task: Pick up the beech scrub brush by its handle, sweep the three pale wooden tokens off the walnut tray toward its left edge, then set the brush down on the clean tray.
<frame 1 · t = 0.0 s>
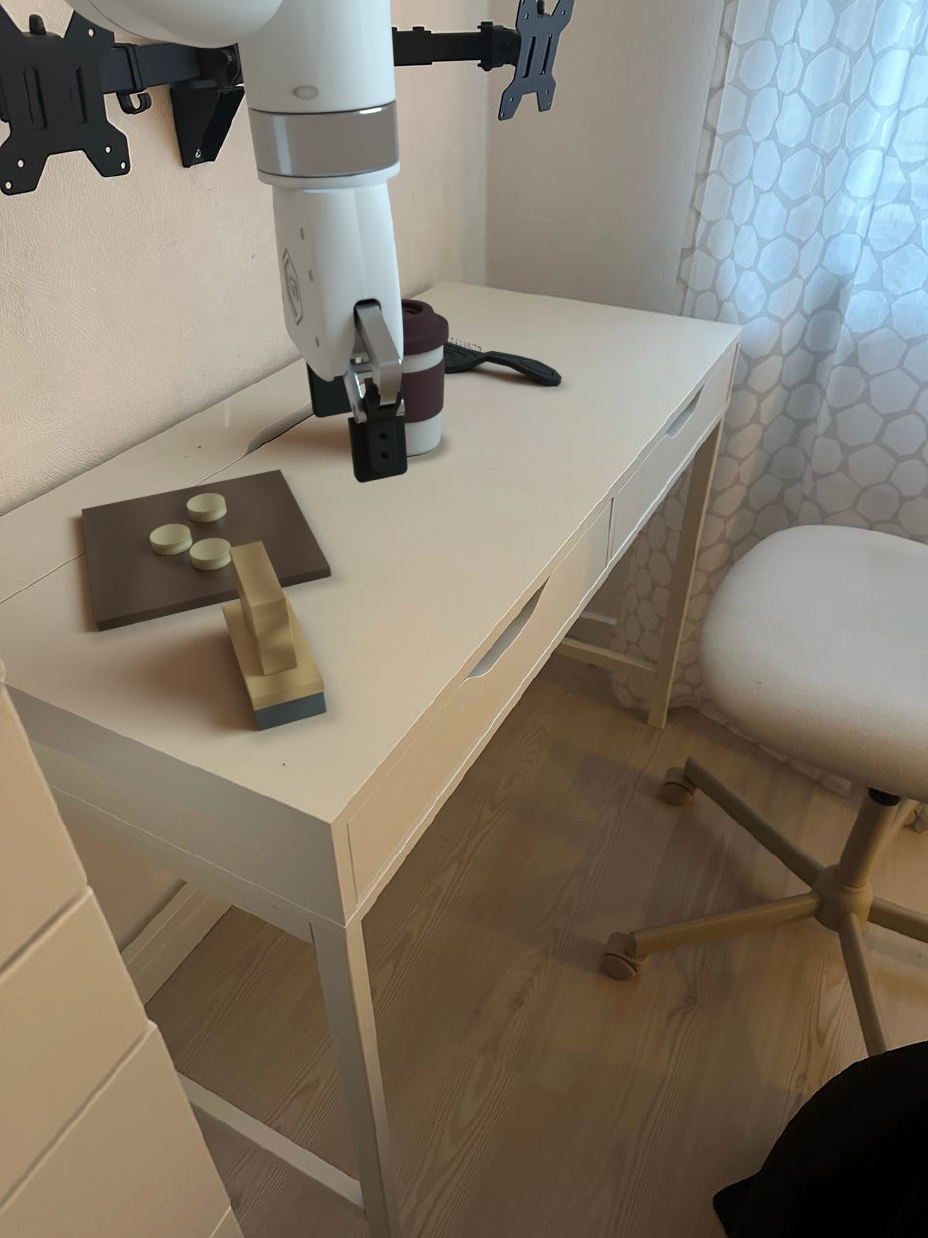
hand: (357, 442, 57), 20 cm above the table, tool pointing down, fingers open, 9 cm apart
token a: (212, 559, 81), point 1 cm above the table, touching tray
coffee cup: (408, 444, 101), on the table
hairbrush: (473, 368, 117), on the table
brush: (275, 672, 70), on the table
token c: (208, 512, 87), point 1 cm above the table, touching tray
tray: (201, 545, 85), on the table
token b: (172, 544, 83), point 1 cm above the table, touching tray
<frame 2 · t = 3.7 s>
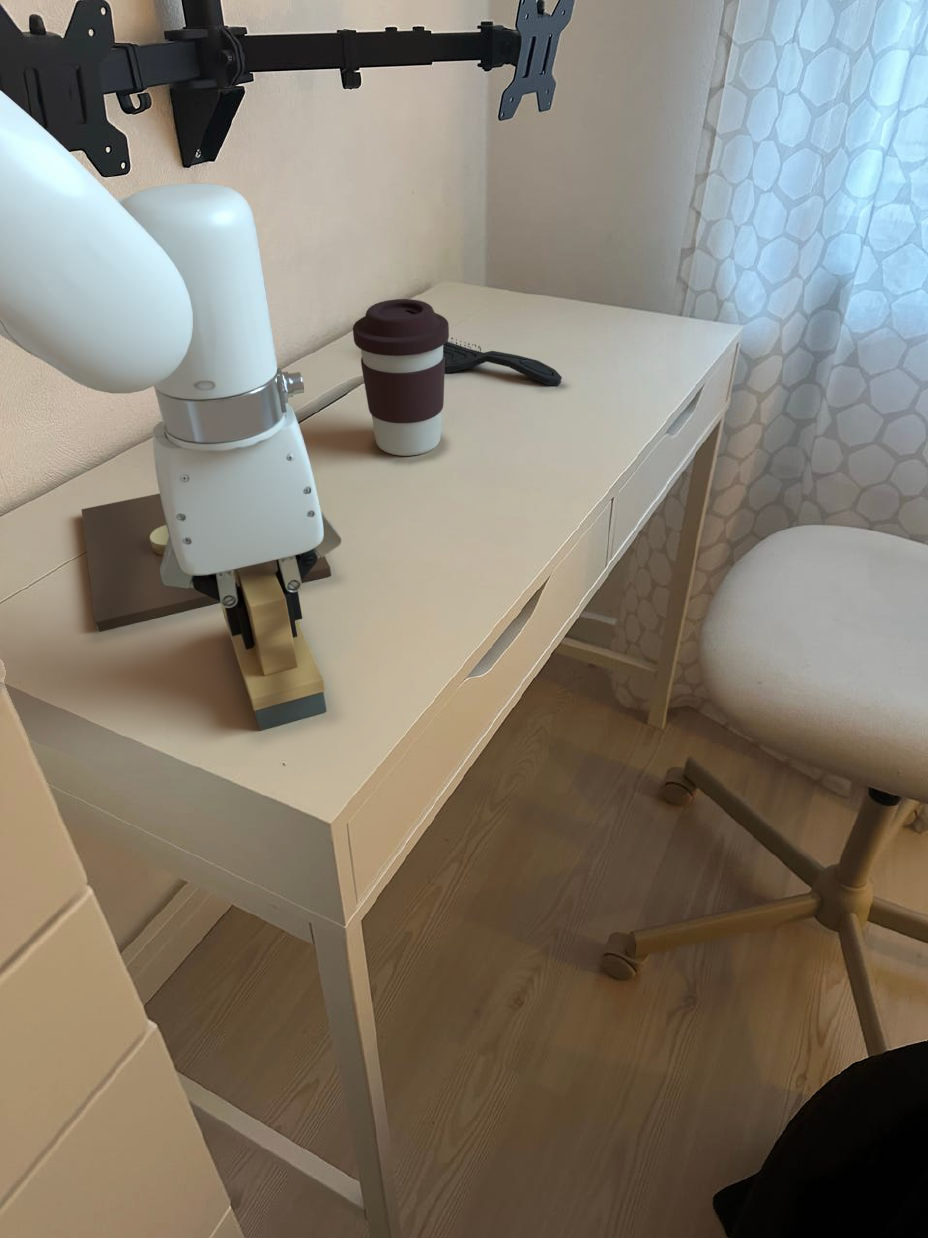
hand: (267, 631, 67), 4 cm above the table, tool pointing down, fingers closed on brush, 2 cm apart
brush: (275, 672, 70), on the table, touching gripper
everything else where it was.
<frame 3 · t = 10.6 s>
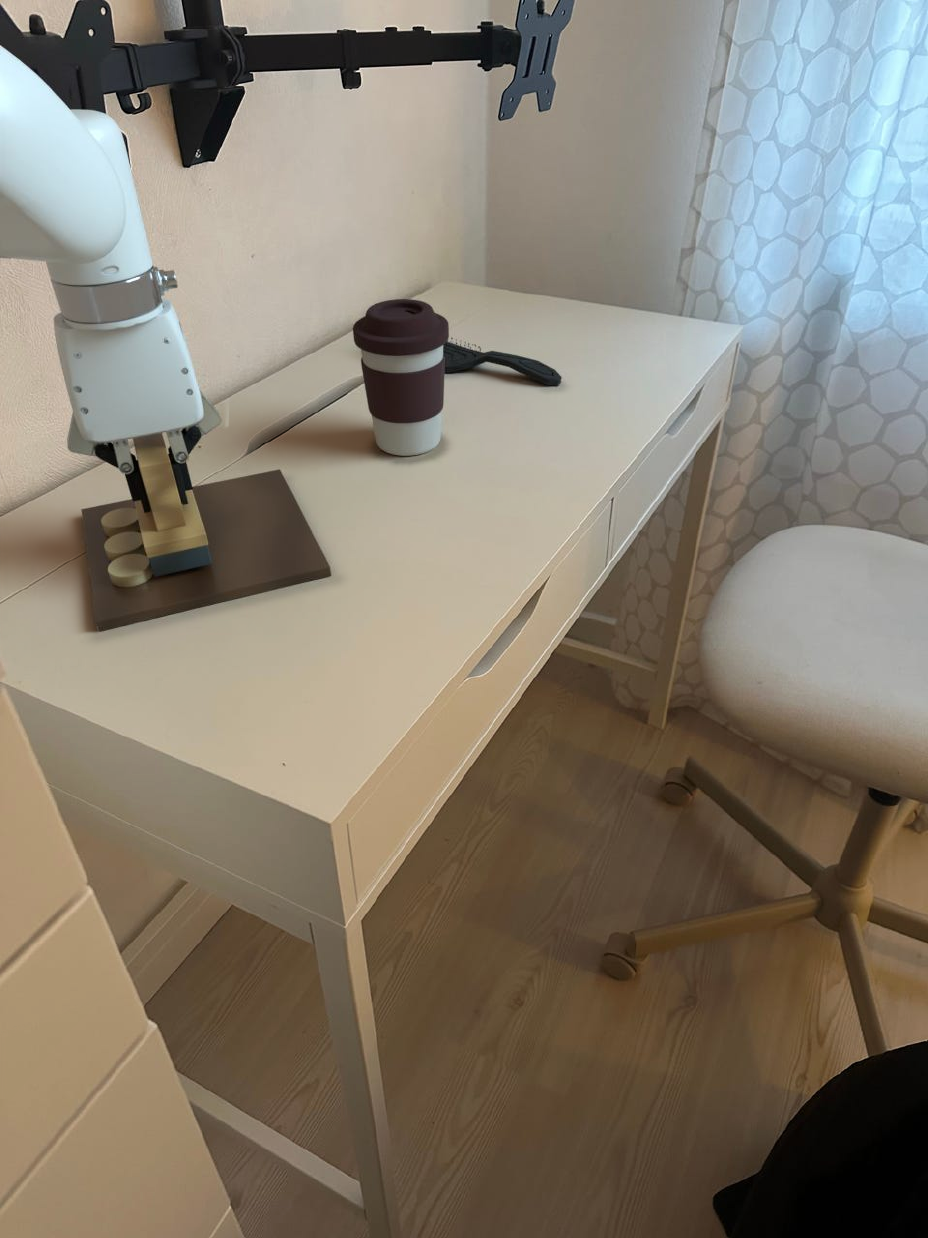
hand: (164, 499, 80), 6 cm above the table, tool pointing down, fingers closed on brush, 2 cm apart
token a: (132, 575, 79), point 1 cm above the table, touching tray
brush: (174, 536, 83), point 2 cm above the table, touching gripper, token c
token c: (124, 528, 85), point 1 cm above the table, touching brush, tray
token b: (128, 552, 82), point 1 cm above the table, touching tray
everything else where it was.
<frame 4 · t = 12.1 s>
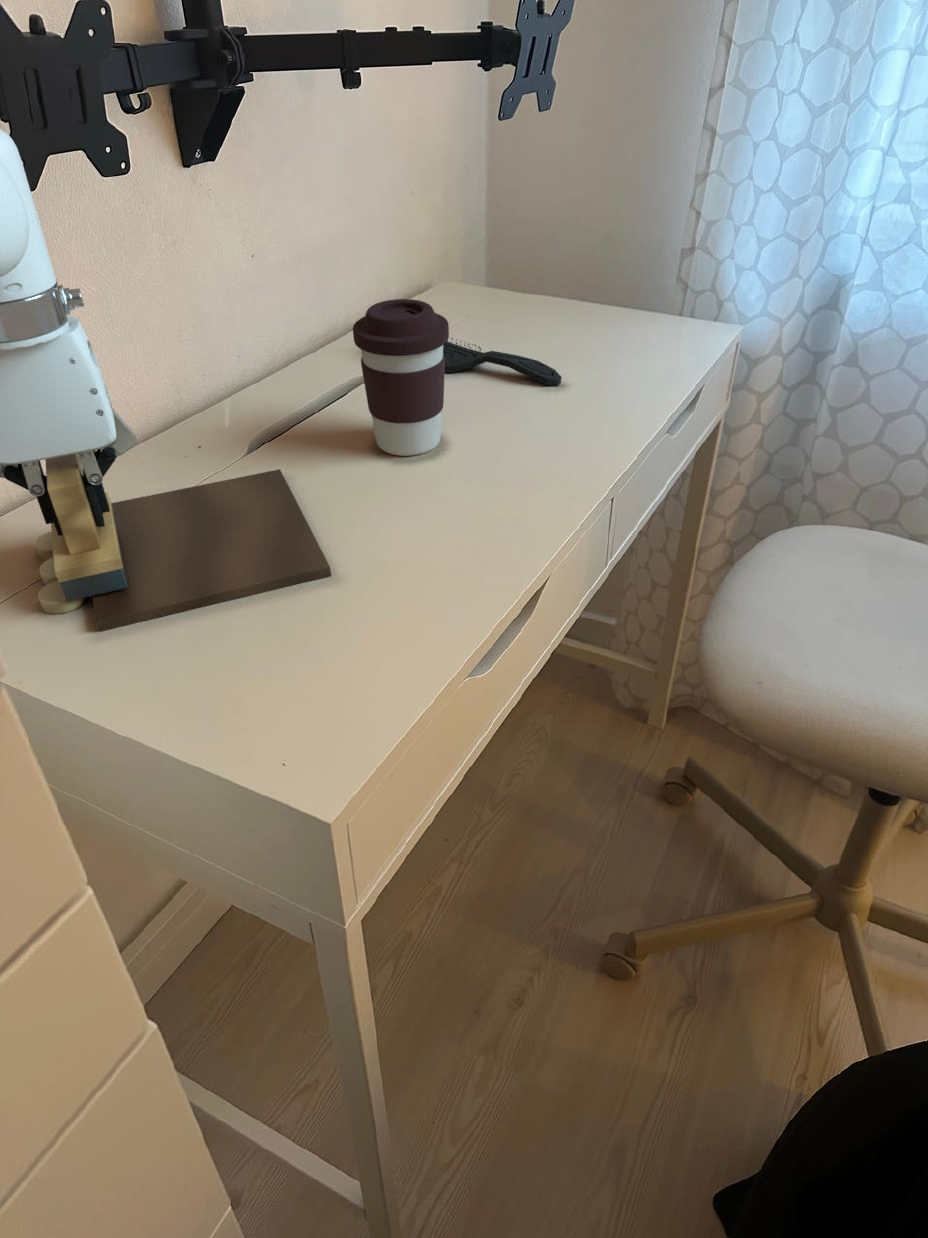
hand: (80, 522, 78), 5 cm above the table, tool pointing down, fingers closed on brush, 2 cm apart
token a: (63, 601, 78), on the table
brush: (92, 559, 81), point 1 cm above the table, touching gripper
token c: (58, 550, 84), on the table
token b: (64, 576, 81), on the table
everything else where it was.
when the fingers open (5 cm above the table, at t = 17.4 s): brush stays where it is, resting on tray.
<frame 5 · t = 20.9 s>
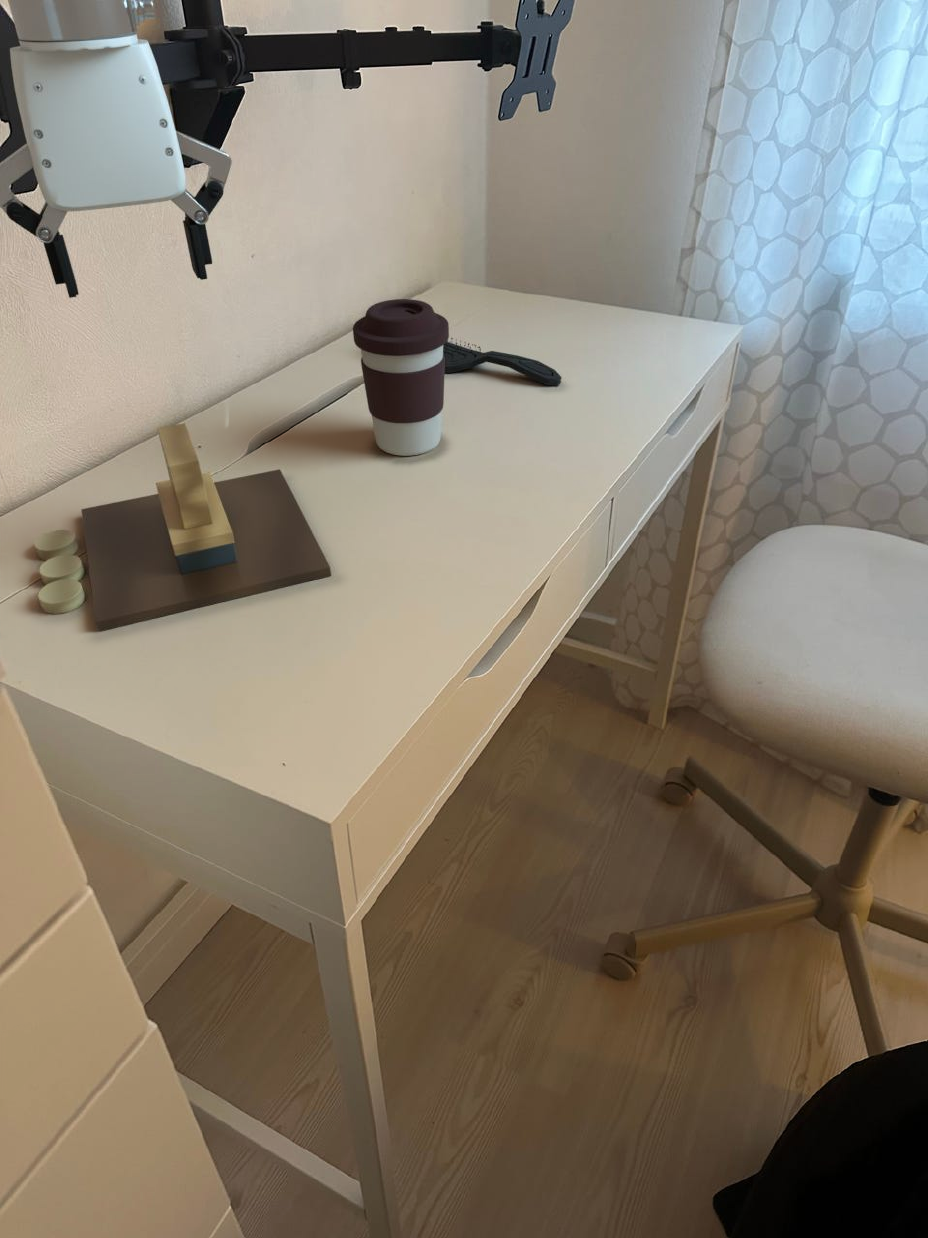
hand: (138, 283, 70), 24 cm above the table, tool pointing down, fingers open, 9 cm apart
brush: (199, 535, 84), point 1 cm above the table, touching tray
everything else where it was.
at the end: token a inside the target area on the table beside the tray (4.6 cm from its centre), on the table; token b inside the target area on the table beside the tray (1.9 cm from its centre), on the table; token c inside the target area on the table beside the tray (4.9 cm from its centre), on the table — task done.
